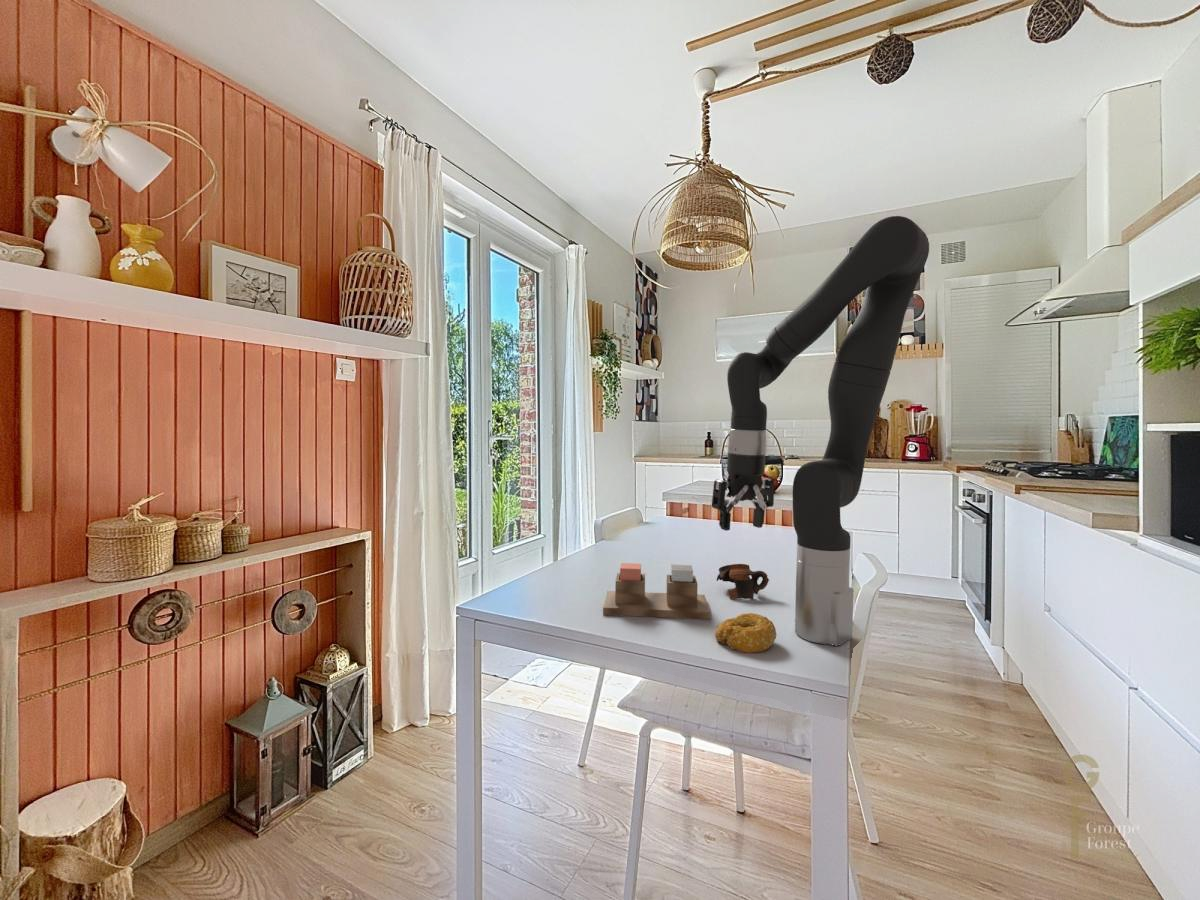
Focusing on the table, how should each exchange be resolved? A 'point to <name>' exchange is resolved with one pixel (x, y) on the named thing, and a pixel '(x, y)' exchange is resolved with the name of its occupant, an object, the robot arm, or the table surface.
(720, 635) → the bagel
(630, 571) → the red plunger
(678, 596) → the wooden block stand
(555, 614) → the table surface
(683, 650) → the table surface
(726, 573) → the pottery mug
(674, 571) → the white block
